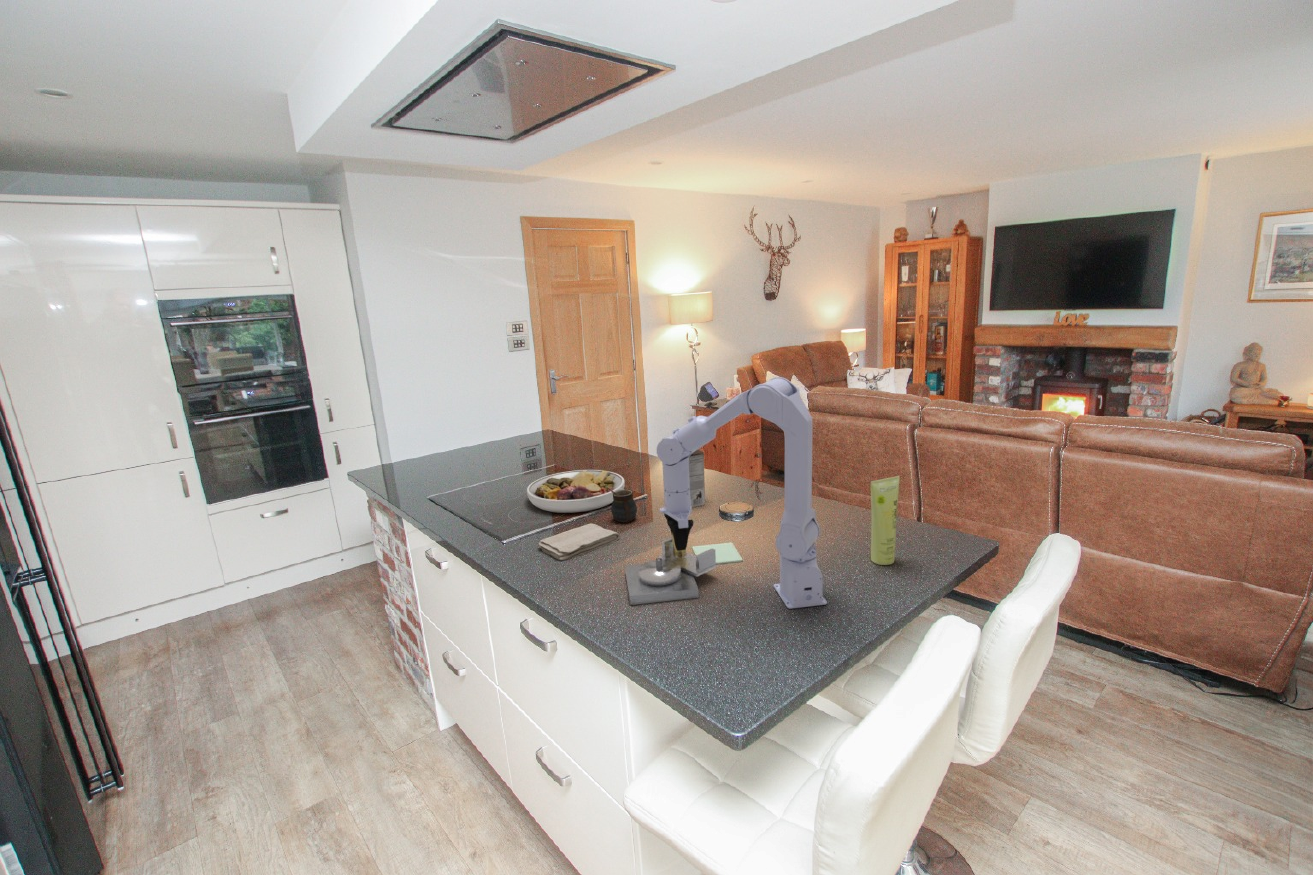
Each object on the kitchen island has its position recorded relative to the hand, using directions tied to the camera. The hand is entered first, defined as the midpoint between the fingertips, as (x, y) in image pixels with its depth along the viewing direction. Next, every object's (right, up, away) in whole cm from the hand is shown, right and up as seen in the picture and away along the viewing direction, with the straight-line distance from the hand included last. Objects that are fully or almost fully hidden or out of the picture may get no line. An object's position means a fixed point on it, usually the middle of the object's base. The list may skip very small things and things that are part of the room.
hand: (679, 546), depth 134 cm
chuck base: (-4, -7, -5) cm, 10 cm away
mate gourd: (-14, +1, +33) cm, 36 cm away
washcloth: (-25, -3, +18) cm, 31 cm away
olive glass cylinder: (0, -2, 0) cm, 2 cm away
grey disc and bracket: (-2, -4, -4) cm, 6 cm away
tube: (+45, -3, 0) cm, 45 cm away
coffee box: (+5, +5, +43) cm, 44 cm away
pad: (+9, -3, +8) cm, 12 cm away
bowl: (-30, +5, +53) cm, 61 cm away
